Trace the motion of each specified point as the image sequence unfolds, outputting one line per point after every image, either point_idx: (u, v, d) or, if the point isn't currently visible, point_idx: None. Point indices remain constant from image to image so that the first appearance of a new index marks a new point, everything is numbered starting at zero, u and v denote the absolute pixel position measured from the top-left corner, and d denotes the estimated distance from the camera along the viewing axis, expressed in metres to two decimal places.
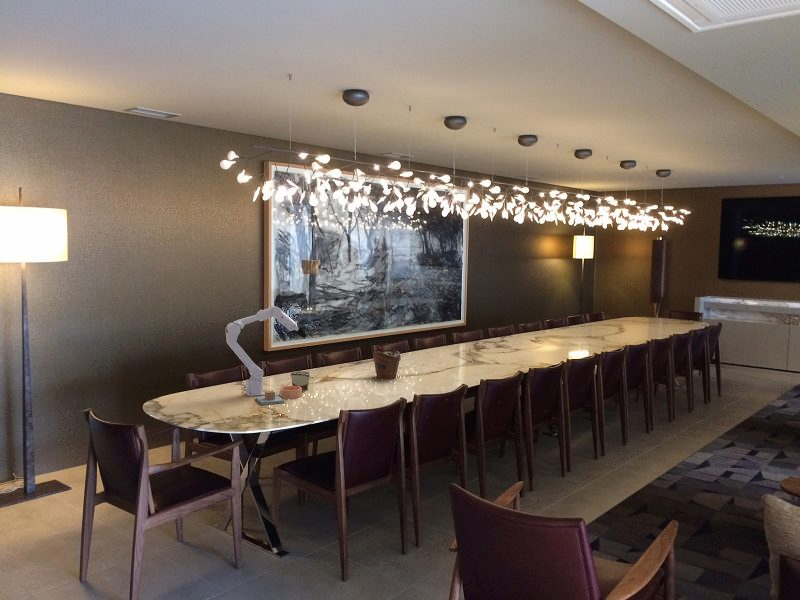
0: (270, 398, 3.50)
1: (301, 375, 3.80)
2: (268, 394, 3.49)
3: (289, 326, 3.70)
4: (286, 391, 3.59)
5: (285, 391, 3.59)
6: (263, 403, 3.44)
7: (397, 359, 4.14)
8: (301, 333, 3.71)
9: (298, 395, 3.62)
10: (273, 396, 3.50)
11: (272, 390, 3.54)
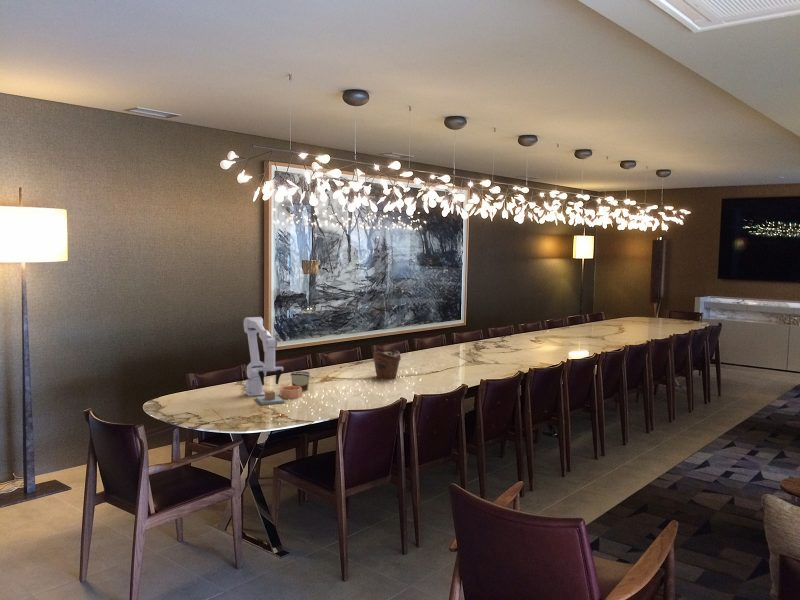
0: (270, 398, 3.50)
1: (301, 375, 3.80)
2: (268, 394, 3.49)
3: None
4: (286, 391, 3.59)
5: (285, 391, 3.59)
6: (263, 403, 3.44)
7: (397, 359, 4.14)
8: None
9: (298, 395, 3.62)
10: (273, 396, 3.50)
11: (272, 390, 3.54)
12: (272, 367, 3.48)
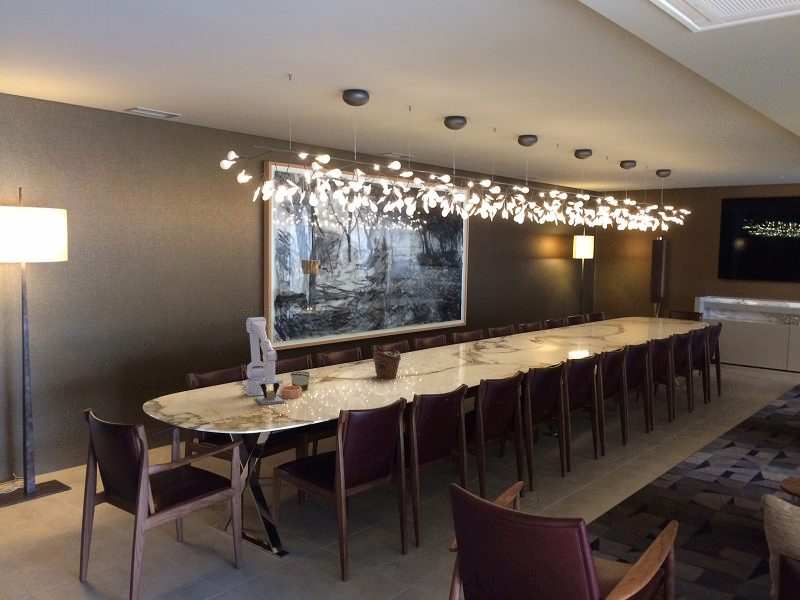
0: (270, 398, 3.50)
1: (301, 375, 3.80)
2: (268, 394, 3.49)
3: None
4: (286, 391, 3.59)
5: (285, 391, 3.59)
6: (263, 403, 3.44)
7: (397, 359, 4.14)
8: None
9: (298, 395, 3.62)
10: (273, 396, 3.50)
11: (272, 390, 3.54)
12: (272, 380, 3.49)
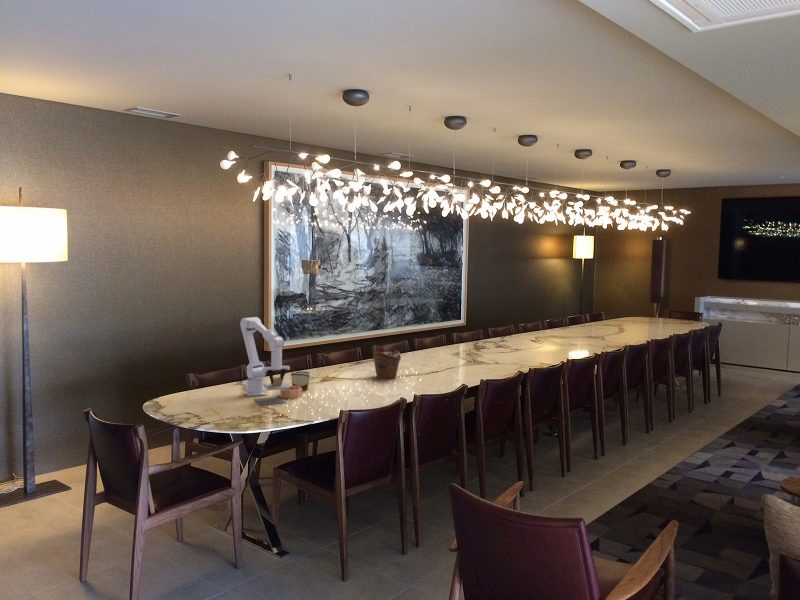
0: (277, 384, 3.53)
1: (301, 375, 3.80)
2: (275, 380, 3.52)
3: None
4: (286, 391, 3.59)
5: (285, 391, 3.59)
6: (270, 389, 3.48)
7: (397, 359, 4.14)
8: None
9: (298, 395, 3.62)
10: (280, 382, 3.54)
11: (279, 377, 3.58)
12: (279, 366, 3.52)
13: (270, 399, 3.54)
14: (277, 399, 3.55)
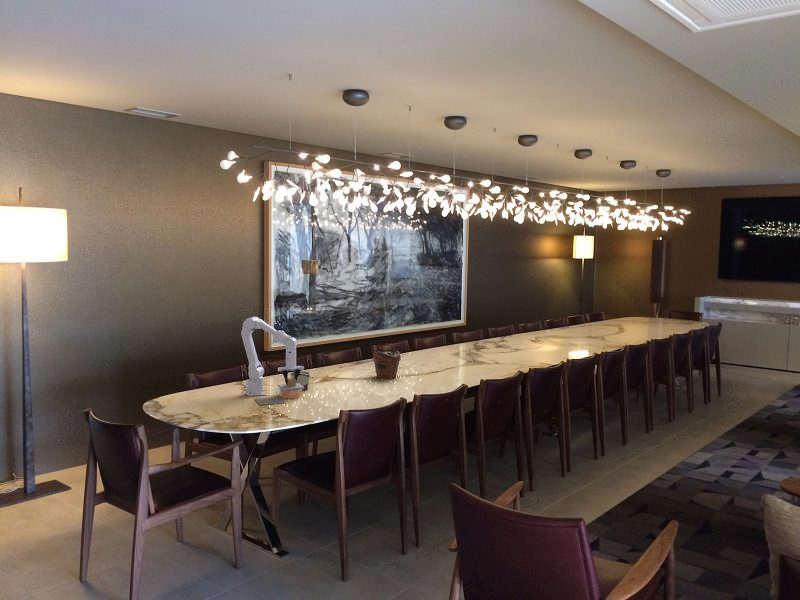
0: (291, 385, 3.62)
1: (301, 375, 3.80)
2: (289, 381, 3.62)
3: None
4: (286, 391, 3.59)
5: (285, 391, 3.59)
6: (285, 389, 3.57)
7: (397, 359, 4.14)
8: None
9: (298, 395, 3.62)
10: (294, 383, 3.63)
11: None
12: (293, 366, 3.62)
13: (270, 399, 3.54)
14: (277, 399, 3.55)
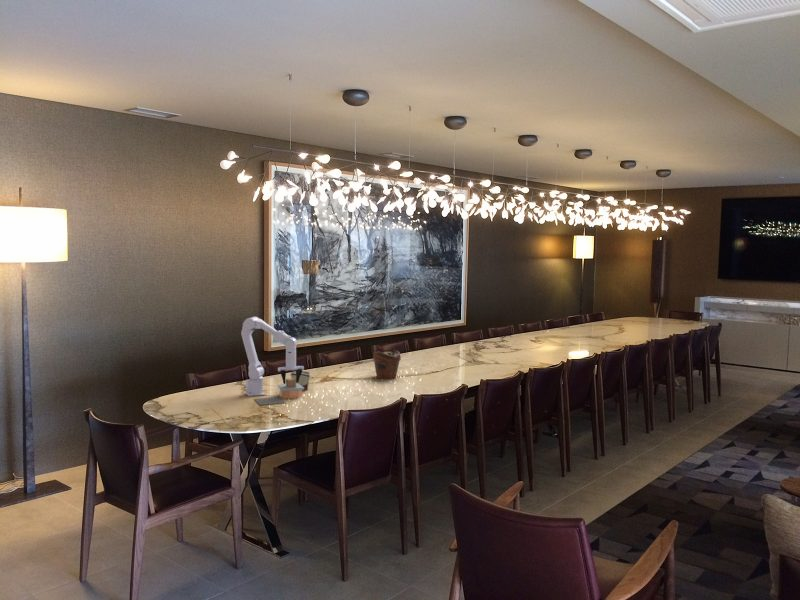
0: (291, 386, 3.62)
1: (301, 375, 3.80)
2: (289, 382, 3.62)
3: None
4: (286, 391, 3.59)
5: (285, 391, 3.59)
6: (285, 390, 3.57)
7: (397, 359, 4.14)
8: None
9: (298, 395, 3.62)
10: (294, 384, 3.63)
11: (293, 378, 3.67)
12: (293, 366, 3.61)
13: (270, 399, 3.54)
14: (277, 399, 3.55)
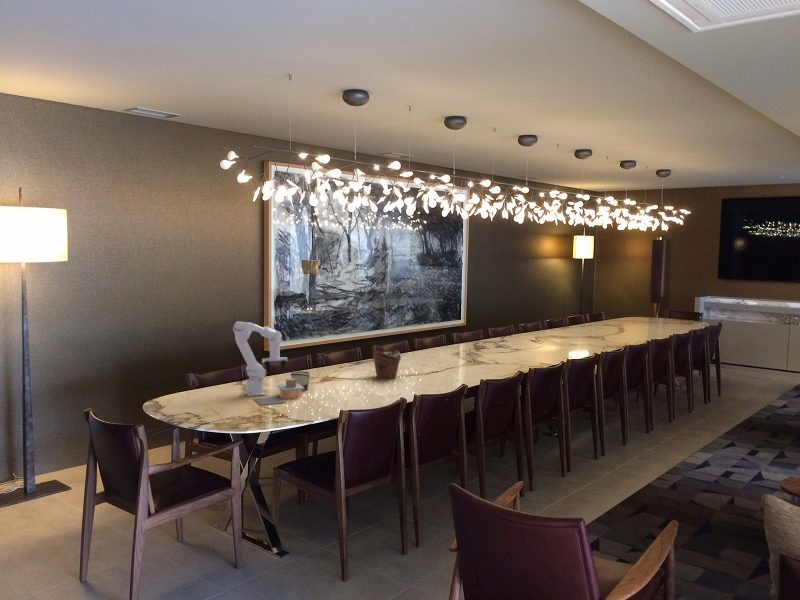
0: (291, 386, 3.62)
1: (301, 375, 3.80)
2: (289, 382, 3.62)
3: None
4: (286, 391, 3.59)
5: (285, 391, 3.59)
6: (285, 390, 3.57)
7: (397, 359, 4.14)
8: None
9: (298, 395, 3.62)
10: (294, 384, 3.63)
11: (293, 378, 3.67)
12: (277, 357, 3.76)
13: (270, 399, 3.54)
14: (277, 399, 3.55)
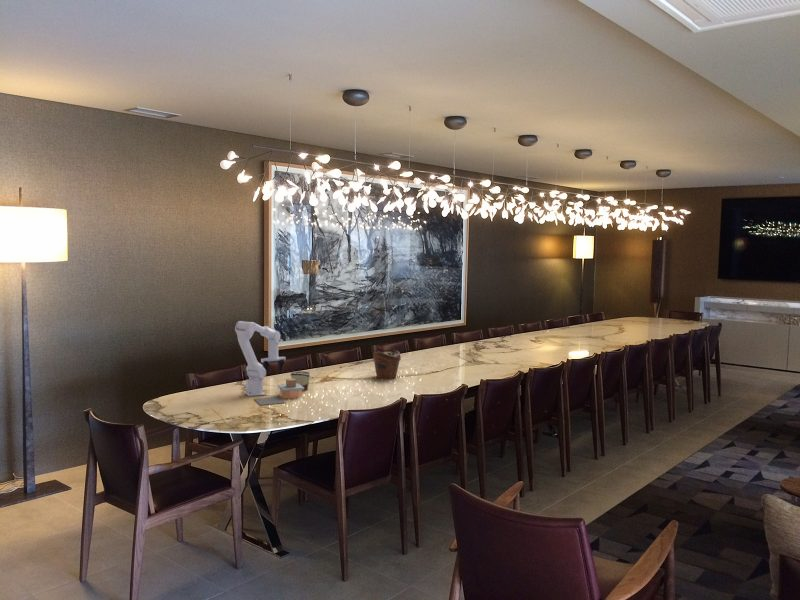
0: (291, 386, 3.62)
1: (301, 375, 3.80)
2: (289, 382, 3.62)
3: None
4: (286, 391, 3.59)
5: (285, 391, 3.59)
6: (285, 390, 3.57)
7: (397, 359, 4.14)
8: None
9: (298, 395, 3.62)
10: (294, 384, 3.63)
11: (293, 378, 3.67)
12: (276, 357, 3.77)
13: (270, 399, 3.54)
14: (277, 399, 3.55)
